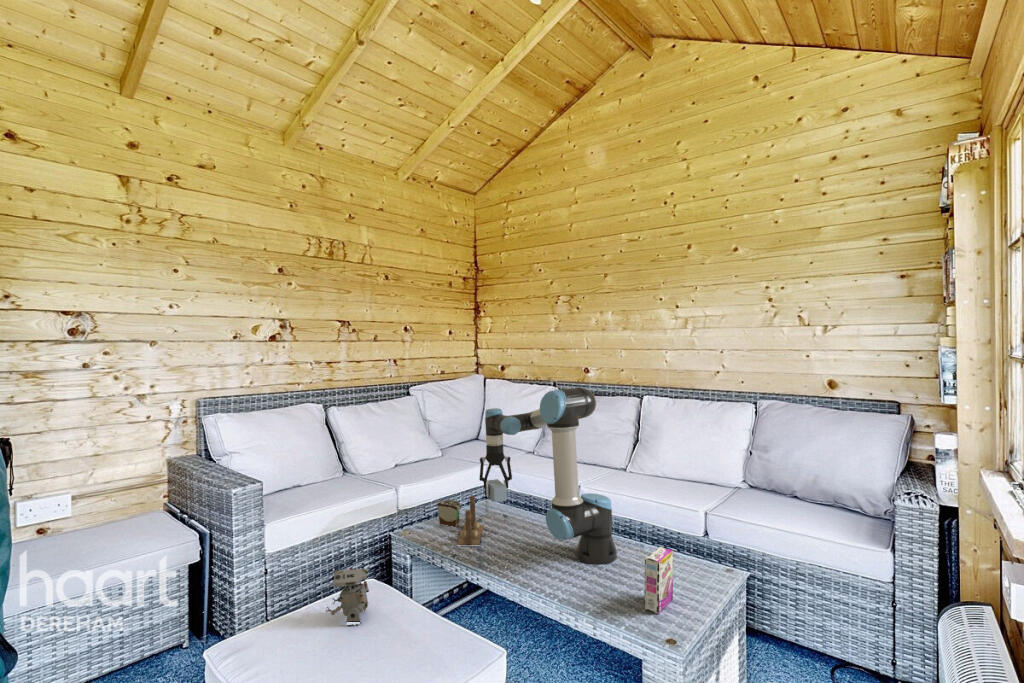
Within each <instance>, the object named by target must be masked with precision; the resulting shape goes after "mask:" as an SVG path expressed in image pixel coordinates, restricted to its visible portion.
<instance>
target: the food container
mask: <svg viewBox="0 0 1024 683" xmlns="http://www.w3.org/2000/svg"><path fill="white" fill-rule="evenodd" d="M436 507H437V513H438V514H437V515H438V523H439V524H444V525H448V526H453V527H457V526H458V525H459V524H460V511H461V509H462V506H461V503H460V501H458V500H455V499H444V500H439V501H437V502H436ZM444 525H443V526H444ZM448 526H447V527H448ZM459 526H460V525H459ZM459 526H458V527H459ZM458 527H457V528H458Z"/></svg>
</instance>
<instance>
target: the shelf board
mask: <svg viewBox="0 0 1024 683" xmlns="http://www.w3.org/2000/svg"><path fill="white" fill-rule="evenodd" d="M487 481H488V485H489V497H488V498H489V499H491V501H492V502H494V503H500V502H507V501H508V500H507V499H508V497H507V496H508V494H507V493H508V492H507V491H508V490H507V489H508V488H506V486H505V485H504V482H501V481H500V480H499V479H498V478H496V479H488V480H487ZM485 492H486V495H487V491H485Z"/></svg>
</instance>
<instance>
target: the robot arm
mask: <svg viewBox="0 0 1024 683" xmlns="http://www.w3.org/2000/svg"><path fill="white" fill-rule="evenodd" d="M596 406H597V400H596V396H595V394H594V393H593V392H592V391H591V390H590V389H587V388H585V387H575V388H574V387H572V388H562V389H555V390H549V391H547V392H545V394H544V395H543V396H542V397H541V399H540V403H539V408H538V409H535V410H533V411H530V412H525V413H519V414H512V415H504V414H503V410H502V409H501V408H498V407H497V408H493V407H492V408H489V409H486V410H485V412H484V414H485V415H484V416H485V417H484V421H485V422H484V423H485V424H484V425H485V444H486V446H485V448H486V451H485V452H486V455H485V456H483V457H482V456H480V458H479V462H480V469H479V481H481V482H483V489H484V490H486V491H487V494H486V498H490V497H489V485H488V481H487V479H488V477H489V473H490V471H491V469H492V466H498V467H499V469H500V471H501V474H502V476H503V478H504V480H503V484H504V485H505V486H506V488H507V489H508V488H509V481H512V480H513V473H512V468H511V456H506V455H505V454H504V434H505V435H507V436H508V435H509V436H514V435H517V434H518V433H520V432H521V433H522V432H525V431H533V430H539V429H542V428H543V427H546V426H547V429H549V430H550V431H551V442H552V460H553V477H554V479H553V480H554V493H555V494H554V497H553V498H552V500H551V508H550V509H548V510H547V512H546V514H545V523H546V527H547V529H548V531H549V532H550V534H551V535H552V536H553V537H554V538H555V539H556V540H559V541H562V542H563V541H567V540H572V539H575V538H577V537H579V540H578V543H577V547H576V557H577V558H578V559H579V560H580V561H582V562H585V563H587V564H592V565H605V564H606V565H607V564H610V563H613V562H615V561H616V560H617V559H618V553H617V548H616V545H615V542H614V538H613V533H612V532H613V531H612V529H613V512H612V510H613V508H612V500H611V499H610V498H609V497H608V496H606V495H603V494H598V493H589V492H587V493H586V492H585V493H582V494H581V495H579V493H580V492H579V491H580V490H579V476H578V460H577V441H576V430H577V429H578V428H579V425H580V422H579V419H580V420H581V419H585V418H588V417H589V416H591V415H592V414H594V411H595V409H596ZM504 460H505V462H506V466H507V473H508V475H507V473H506V470H505V468H504V464H503V461H504ZM486 461H487V463H488V466H487V469H486V472H485V475H484V467H485V466H484V465H485V462H486ZM483 476H484V477H483ZM486 491H485V492H486Z"/></svg>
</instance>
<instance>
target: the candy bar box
mask: <svg viewBox="0 0 1024 683" xmlns="http://www.w3.org/2000/svg"><path fill="white" fill-rule="evenodd" d="M673 593H674V550H672V549H669V548H665V547H662V546H659V547H658V548H656V549H655V550H654V551H652V552H651V553H649V554H648V555H647V556H646V557H645V558H644V610H645V611H648V612H651V613H653V614H657V615H659V614H660V613H661V612H662V611H663V610H664V609H665V608H666V607H667V606H668V605H670V603H671V602H672V601H673V600H674V594H673Z"/></svg>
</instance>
